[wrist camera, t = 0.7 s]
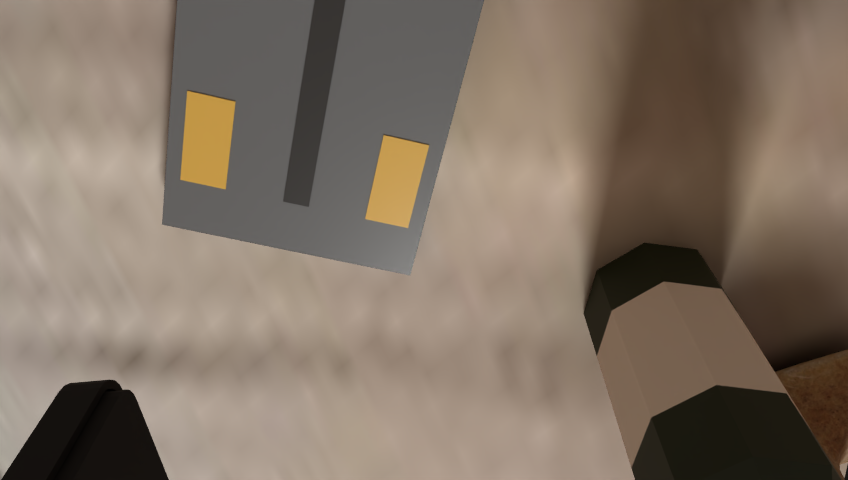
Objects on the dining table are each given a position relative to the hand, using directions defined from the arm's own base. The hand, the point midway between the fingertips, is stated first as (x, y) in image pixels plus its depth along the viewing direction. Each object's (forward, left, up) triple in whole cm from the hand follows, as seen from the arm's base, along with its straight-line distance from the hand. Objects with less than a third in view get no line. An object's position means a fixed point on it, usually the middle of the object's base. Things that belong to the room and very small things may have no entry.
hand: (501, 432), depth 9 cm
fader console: (+3, -5, -30) cm, 31 cm away
